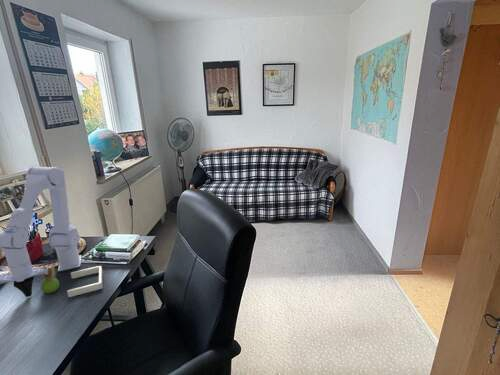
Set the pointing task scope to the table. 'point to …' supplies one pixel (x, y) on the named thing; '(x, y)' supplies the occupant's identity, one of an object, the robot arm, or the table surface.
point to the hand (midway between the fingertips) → (29, 294)
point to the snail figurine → (49, 281)
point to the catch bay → (89, 287)
